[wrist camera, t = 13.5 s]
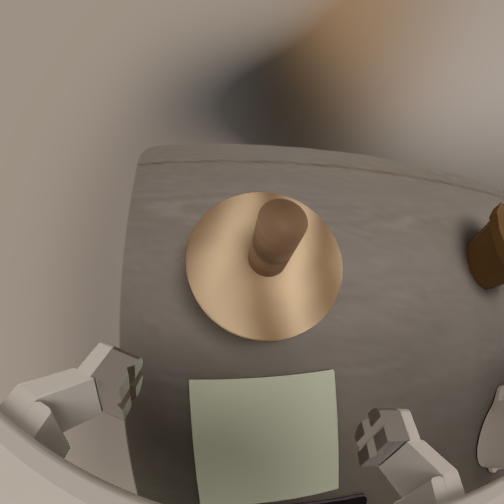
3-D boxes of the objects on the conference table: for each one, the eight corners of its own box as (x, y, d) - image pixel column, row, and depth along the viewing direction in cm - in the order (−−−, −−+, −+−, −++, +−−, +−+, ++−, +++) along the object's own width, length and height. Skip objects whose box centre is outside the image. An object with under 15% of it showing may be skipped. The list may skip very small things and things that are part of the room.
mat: (332, 369, 29) (333, 369, 28) (336, 487, 22) (338, 488, 22) (189, 379, 27) (188, 379, 26) (200, 503, 20) (200, 505, 20)
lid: (324, 201, 31) (351, 152, 23) (347, 334, 25) (395, 316, 17) (190, 198, 29) (184, 143, 21) (186, 343, 23) (170, 330, 15)
